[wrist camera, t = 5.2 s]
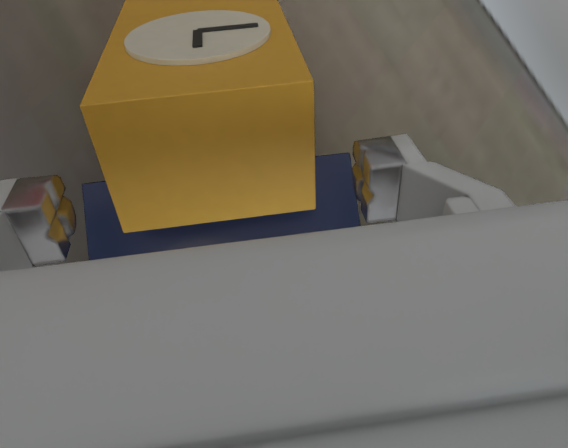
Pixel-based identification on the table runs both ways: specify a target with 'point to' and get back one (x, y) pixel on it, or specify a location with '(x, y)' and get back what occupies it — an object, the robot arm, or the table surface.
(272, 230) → the navy blue book
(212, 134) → the clock
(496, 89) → the table surface
